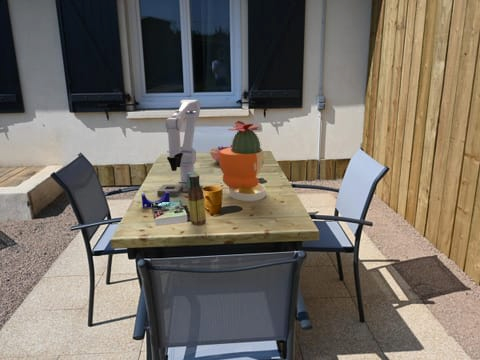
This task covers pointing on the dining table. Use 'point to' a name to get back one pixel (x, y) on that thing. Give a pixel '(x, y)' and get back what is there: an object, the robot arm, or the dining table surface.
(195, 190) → the sauce bottle
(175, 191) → the socket block
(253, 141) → the potted cactus
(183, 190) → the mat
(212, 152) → the cell model
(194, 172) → the plug
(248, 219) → the dining table surface
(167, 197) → the cable clip
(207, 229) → the dining table surface
